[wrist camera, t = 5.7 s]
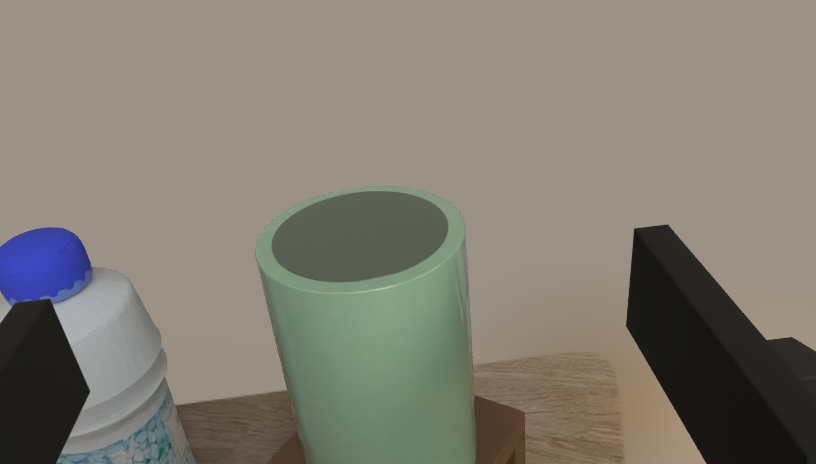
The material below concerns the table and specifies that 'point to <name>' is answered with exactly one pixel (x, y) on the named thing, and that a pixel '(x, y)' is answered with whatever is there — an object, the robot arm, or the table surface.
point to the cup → (373, 326)
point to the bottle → (100, 350)
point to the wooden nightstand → (495, 437)
